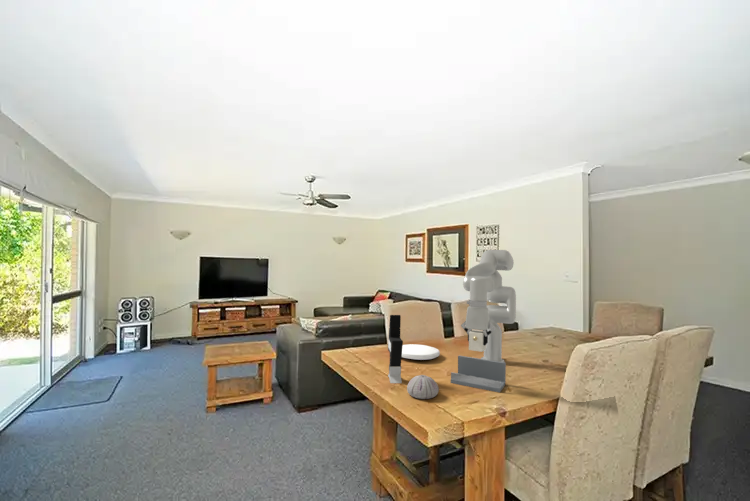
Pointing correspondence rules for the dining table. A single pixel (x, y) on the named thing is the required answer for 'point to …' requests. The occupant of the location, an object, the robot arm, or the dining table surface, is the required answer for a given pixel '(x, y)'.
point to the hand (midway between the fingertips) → (477, 343)
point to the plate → (419, 352)
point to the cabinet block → (476, 340)
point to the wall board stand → (480, 373)
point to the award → (395, 349)
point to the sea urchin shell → (422, 387)
